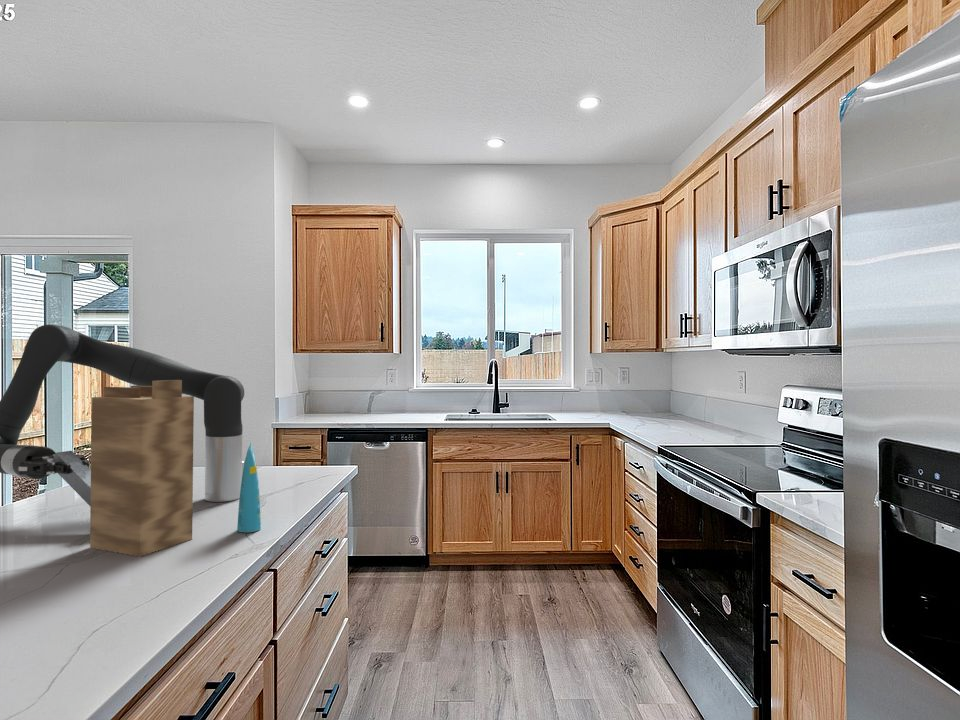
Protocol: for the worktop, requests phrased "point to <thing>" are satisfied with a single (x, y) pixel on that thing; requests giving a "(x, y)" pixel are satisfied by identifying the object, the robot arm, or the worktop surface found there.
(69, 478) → the grey long block
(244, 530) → the tube
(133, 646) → the worktop surface
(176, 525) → the post
